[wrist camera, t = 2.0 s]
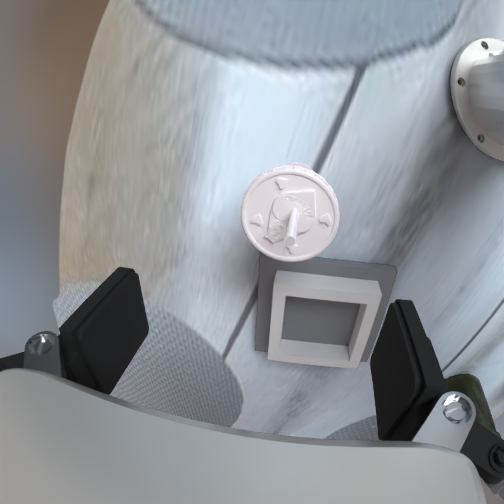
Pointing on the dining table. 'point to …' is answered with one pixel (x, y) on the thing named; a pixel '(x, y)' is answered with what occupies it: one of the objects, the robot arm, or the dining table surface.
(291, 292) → the dock
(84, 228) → the dining table surface
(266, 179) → the smoothie
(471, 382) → the mug
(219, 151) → the dining table surface
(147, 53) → the dining table surface
